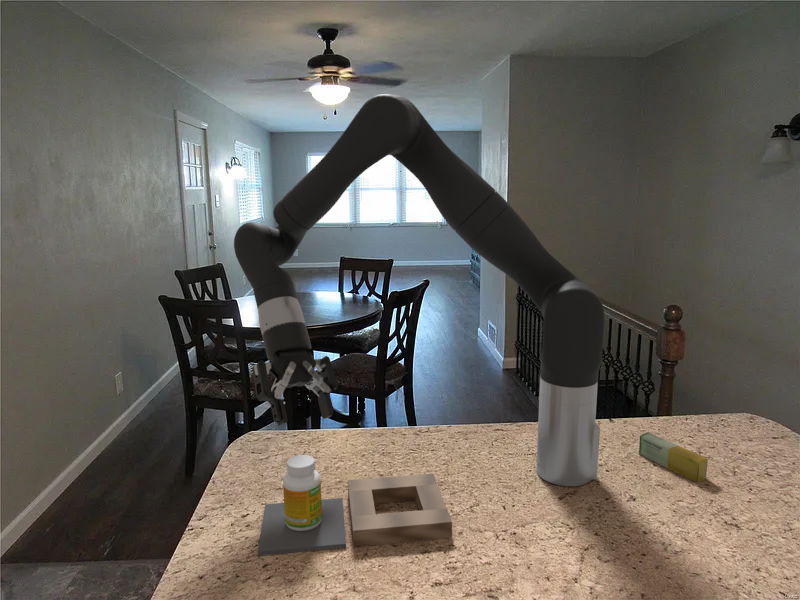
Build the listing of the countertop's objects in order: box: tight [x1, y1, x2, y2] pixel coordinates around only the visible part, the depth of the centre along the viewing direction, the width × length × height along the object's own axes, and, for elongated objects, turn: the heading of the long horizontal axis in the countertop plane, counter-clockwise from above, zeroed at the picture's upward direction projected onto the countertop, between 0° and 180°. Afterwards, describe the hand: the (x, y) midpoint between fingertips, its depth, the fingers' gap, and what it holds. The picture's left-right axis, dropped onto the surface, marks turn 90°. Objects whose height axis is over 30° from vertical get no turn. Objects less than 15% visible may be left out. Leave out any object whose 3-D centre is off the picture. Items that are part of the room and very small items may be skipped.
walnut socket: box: [347, 473, 453, 548], centre depth 90 cm, size 14×14×2 cm
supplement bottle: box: [282, 454, 322, 531], centre depth 86 cm, size 5×5×10 cm
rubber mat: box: [257, 497, 347, 557], centre depth 87 cm, size 12×12×1 cm
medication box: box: [638, 432, 709, 483], centre depth 104 cm, size 12×3×4 cm, turn 29°
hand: (306, 420), depth 96 cm, fingers open, 8 cm apart
